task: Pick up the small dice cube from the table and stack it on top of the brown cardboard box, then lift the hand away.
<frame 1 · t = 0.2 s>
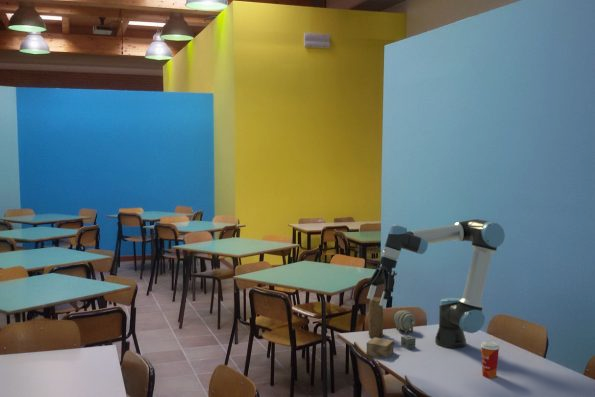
hand: (375, 302, 258), 27 cm above the table, tool tilted 20°, fingers open, 13 cm apart
block: (375, 335, 299), on the table
dice cube: (408, 347, 280), on the table
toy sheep: (404, 331, 307), on the table
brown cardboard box: (380, 353, 271), on the table
paper cup: (489, 376, 243), on the table
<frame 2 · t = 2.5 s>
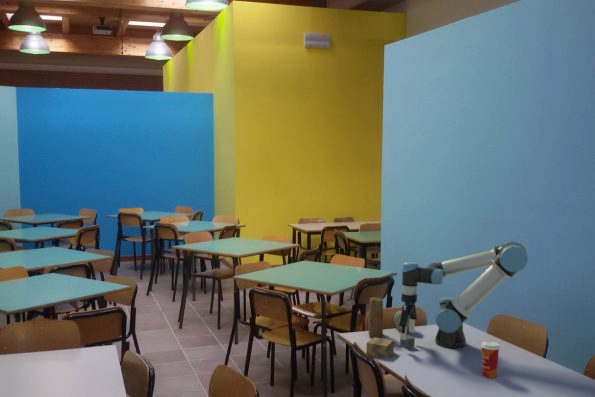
hand: (407, 335, 280), 6 cm above the table, tool pointing down, fingers open, 13 cm apart
nothing on the table moved.
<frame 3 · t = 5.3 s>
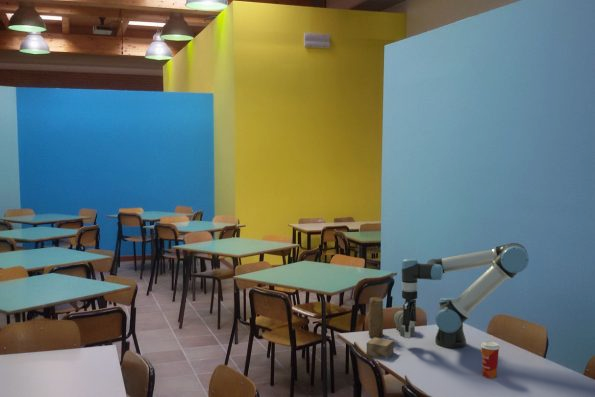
hand: (409, 336, 280), 6 cm above the table, tool pointing down, fingers closed on dice cube, 7 cm apart
dice cube: (407, 336, 281), point 5 cm above the table, touching gripper
everything else where it was.
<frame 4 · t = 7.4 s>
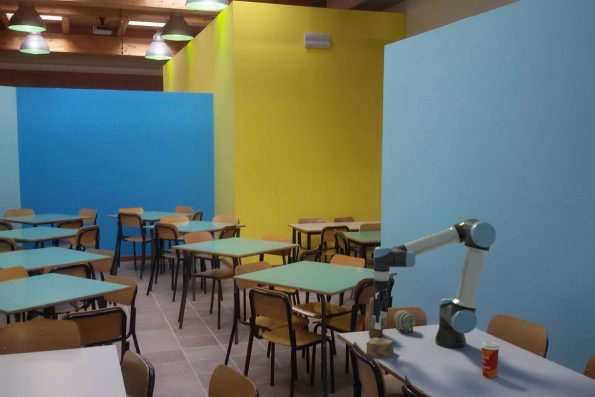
hand: (380, 326, 270), 13 cm above the table, tool pointing down, fingers closed on dice cube, 7 cm apart
dice cube: (377, 327, 271), point 12 cm above the table, touching gripper
everything else where it was.
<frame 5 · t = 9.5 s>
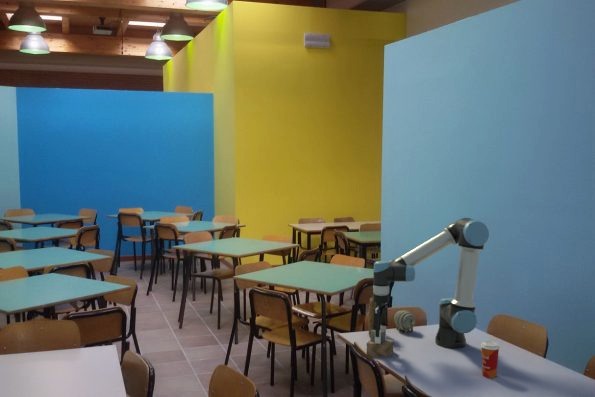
hand: (380, 341, 270), 6 cm above the table, tool pointing down, fingers closed on dice cube, 6 cm apart
dice cube: (377, 341, 271), point 5 cm above the table, touching gripper
everything else where it was.
when the fingers open (6 cm above the table, at t = 9.6 s): dice cube moves 1 cm, resting on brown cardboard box.
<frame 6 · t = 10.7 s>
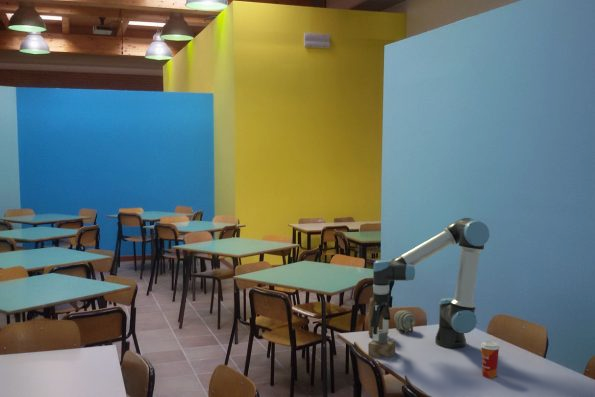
hand: (380, 336, 270), 8 cm above the table, tool pointing down, fingers open, 13 cm apart
dice cube: (380, 342, 270), point 5 cm above the table, touching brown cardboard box
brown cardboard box: (381, 354, 270), on the table, touching dice cube
everything else where it was.
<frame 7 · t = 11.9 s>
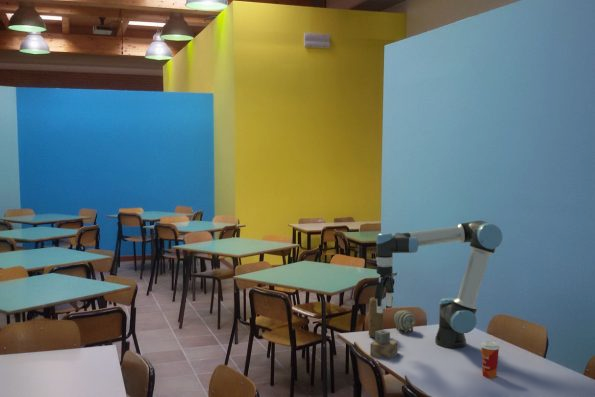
hand: (384, 309, 270), 21 cm above the table, tool pointing down, fingers open, 13 cm apart
dice cube: (382, 342, 270), point 5 cm above the table, touching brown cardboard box
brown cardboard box: (383, 354, 270), on the table, touching dice cube
everything else where it was.
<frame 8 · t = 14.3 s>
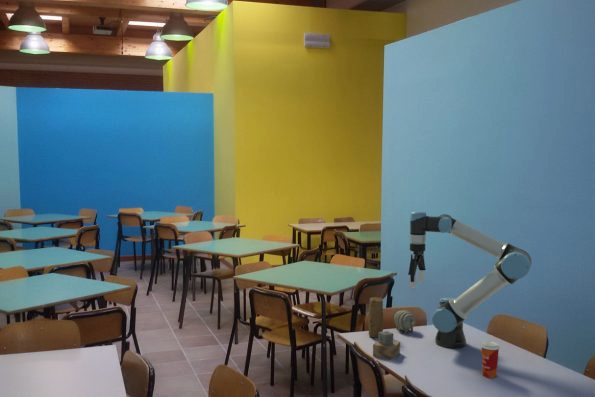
hand: (416, 285, 279), 31 cm above the table, tool pointing down, fingers open, 13 cm apart
dice cube: (385, 343, 269), point 5 cm above the table, touching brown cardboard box
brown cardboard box: (386, 355, 269), on the table, touching dice cube
everything else where it was.
at the end: dice cube inside the target area on the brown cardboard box (0.5 cm from its centre), point 5.8 cm above the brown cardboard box's base; dice cube touching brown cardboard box; the gripper is holding nothing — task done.
